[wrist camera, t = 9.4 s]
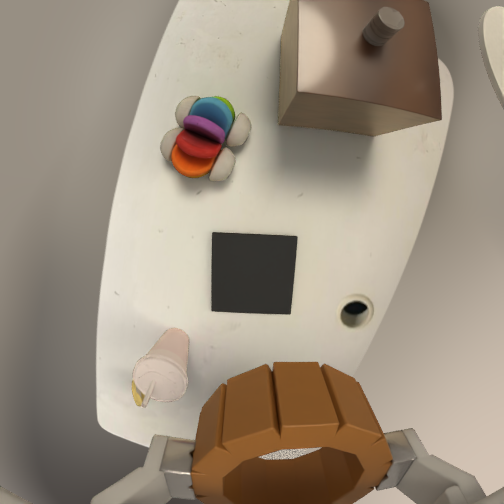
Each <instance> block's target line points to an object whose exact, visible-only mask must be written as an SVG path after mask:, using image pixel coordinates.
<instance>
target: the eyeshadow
mask: <svg viewBox="0 0 504 504" xmlns="http://www.w3.org/2000/svg"><path fill="white" fill-rule="evenodd" d="M132 393H133V397H134V400H135V403H136V404H137V406H141V404H142V402H143V399H144V397H145V395H144V394H143V393H142V392H141V391H140V390H139V389H138V388H137V386H136V385H135V383H134V380H133V381H132Z"/></svg>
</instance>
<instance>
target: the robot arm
mask: <svg viewBox="0 0 504 504" xmlns="http://www.w3.org/2000/svg"><path fill="white" fill-rule="evenodd" d="M384 436H385V438H386V440H387V443H388V446H389V449H390V451H391V454H392V457H393V460H391V461H390V462H391V465H390V467H389V468H388V470H387V471H386V474H385V476H384V478H383V479H382V480H381V481H380V483H379V484H378V486H375V487H376V490H383V489H387V488H392V487H396V488H397V489H399V490H400V491H401V492H402V493H404V494H405V495H406V496H408V497H409V498H410V499H411V500H413V501H414V502H415V503H416V504H504V487H503V488H501V489H499V490H498V491H496V492H494V493H492V494H491V495H489V496H486V495H485V493H484V492H483V490H482V488H481V486H480V485H479V483H478V482H477V480H476V478H475V477H474V476H473V475H471V474H469V473H467V472H465V471H462V470H461V469H459V468H457V467H455V466H453V465H451V464H449V463H447V462H445V461H443V460H441V459H440V458H438V457H436V456H434V455H429V454H428V452H427V451H426V449H425V447H424V445H423V444H422V442H421V440H420V439H419V437H418V435H417V433H416V432H415V430H414V429H413V428H410V429H405V430H401V431H394V432H389V433H384ZM195 445H196V440H190V439H183V438H176V437H169V436H162V435H156V434H155V435H154V437H153V438H152V441H151V444H150V448H149V451H148V454H147V457H146V460H145V463H144V467H143V468H141V467H139V468H137V469H136V470H134V471H133V472H131V473H130V474H128V475H127V476H126V477H124V478H122V479H121V480H119V481H118V482H116V483H115V484H113V485H112V486H110V487H109V488H107V489H105V490H104V491H102V492H101V493H99V494H97V495H96V496H94V497H93V498H92V501H91V503H90V504H166V503H167V502H168V501H169V500H170V499H171V497H174V498H184V499H193V500H194V499H195V497H196V495H195V492H194V488H193V487H192V484H193V480H192V475H191V472H192V463H193V458H192V457H193V452H194V451H195ZM0 504H32V503H30V502H28V501H27V500H25V499H23V498H21V497H19V496H17V495H15V494H13V493H12V492H10V491H8V490H6V489H5V488H3V487H1V486H0Z"/></svg>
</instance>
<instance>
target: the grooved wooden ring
mask: <svg viewBox="0 0 504 504" xmlns="http://www.w3.org/2000/svg"><path fill="white" fill-rule="evenodd" d="M195 440H196V445H195V451H194V452H193V457H192V458H193V463H192V472H191V475H192V480H193V484H192V487H193V488H194V492H195V495H196V498H197V499H198V500H200V501H201V502H203V503H204V504H353V503H354V502H356V501H357V500H359V499H361V498H362V497H364V496H365V495H367V494H368V493H369V492H371V491H372V490H373V489H374V487H375V486H378V484H379V483H380V481H381V480H382V479H383V478H384V476H385V474H386V471H387V470H388V468H389V467H390V465H391V462H390V461H391V460H393V457H392V454H391V451H390V449H389V446H388V443H387V440H386V438H385V436H384V433H383V431H382V429H381V427H380V425H379V423H378V421H377V419H376V417H375V415H374V412H373V410H372V408H371V406H370V404H369V402H368V400H367V398H366V396H365V394H364V392H363V390H362V388H361V386H360V384H359V382H356V380H355V379H354V378H353V377H351V376H349V375H347V374H345V373H343V372H341V371H338V370H336V369H334V368H332V367H330V366H328V365H326V364H323V365H322V366H321V367H320V366H319V363H318V362H274V363H273V371H271V369H270V368H269V366H268V365H267V364H264V365H262V366H260V367H257V368H255V369H252V370H250V371H247V372H245V373H242V374H240V375H237V376H235V377H232V378H230V379H228V380H227V385H226V384H224V383H222V384H221V385H220V386H219V387H218V389H217V390H216V391H215V392H214V393H213V395H212V396H211V397H210V398H209V400H208V401H207V402H206V403H205V404H204V406H203V407H202V411H201V412H200V417H199V422H198V428H197V434H196V439H195ZM317 447H322V448H321V449H319V450H317V451H314V452H311V453H309V454H306V455H303V456H300V457H297V458H294V459H279V460H265V459H262V458H259V456H262V455H266V454H269V453H272V452H275V451H278V450H281V449H301V448H317Z"/></svg>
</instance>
